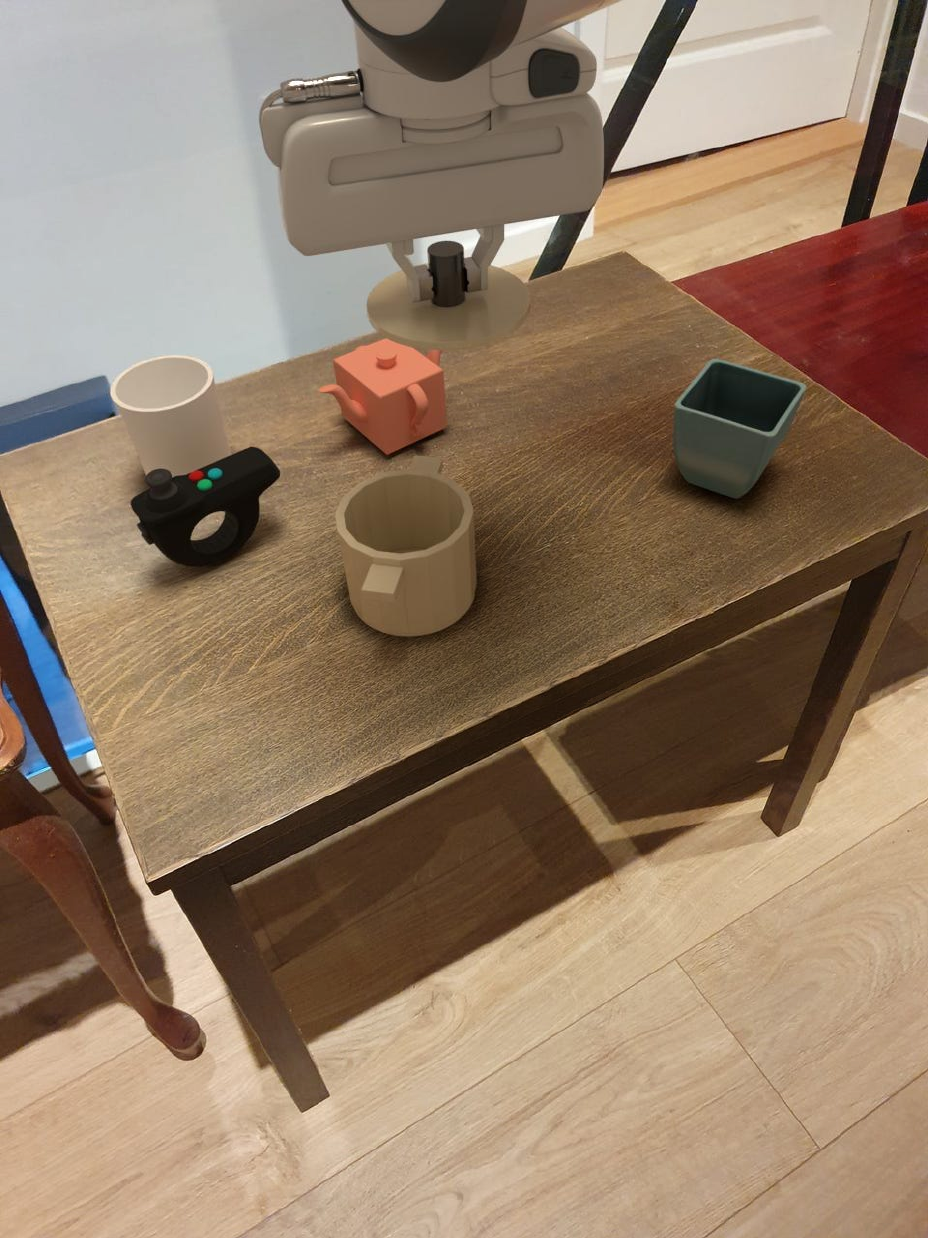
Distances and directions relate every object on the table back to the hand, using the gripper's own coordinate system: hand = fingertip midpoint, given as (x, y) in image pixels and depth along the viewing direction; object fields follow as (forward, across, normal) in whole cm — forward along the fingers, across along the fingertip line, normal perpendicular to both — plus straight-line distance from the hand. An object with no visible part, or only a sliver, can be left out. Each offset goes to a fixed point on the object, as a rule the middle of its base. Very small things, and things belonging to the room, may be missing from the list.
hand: (448, 292), depth 60 cm
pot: (+23, -5, -4) cm, 24 cm away
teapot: (+23, -2, +19) cm, 30 cm away
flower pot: (+23, +25, +1) cm, 35 cm away
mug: (+23, -22, +18) cm, 37 cm away
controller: (+23, -20, +6) cm, 31 cm away
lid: (+1, 0, 0) cm, 1 cm away
